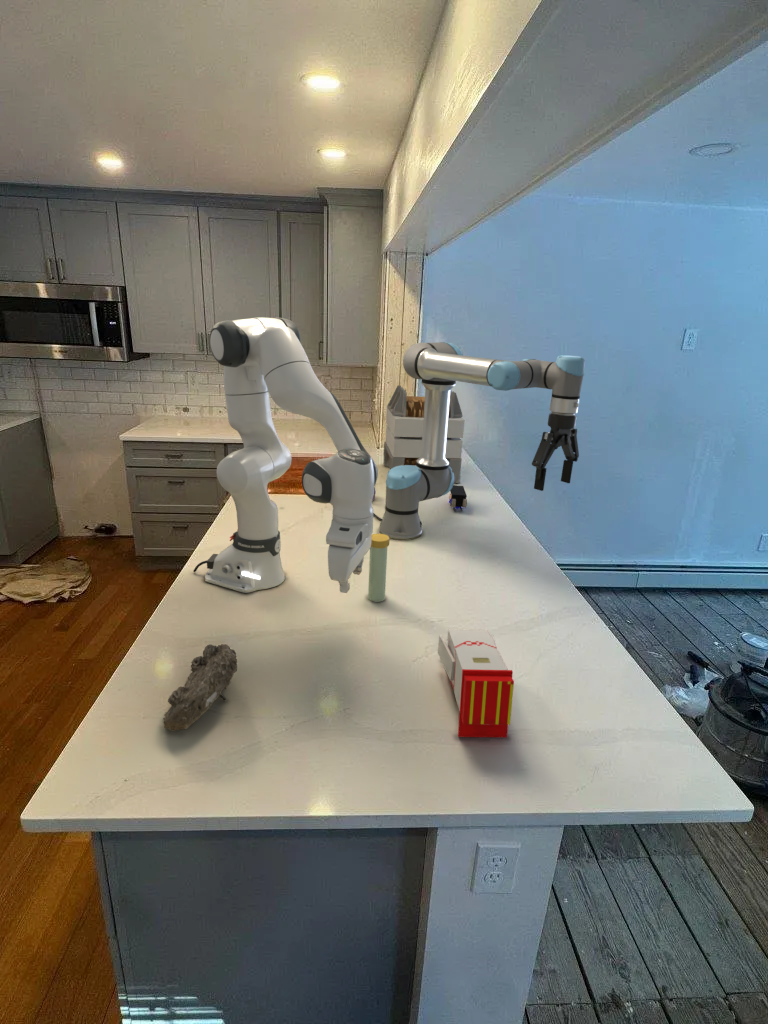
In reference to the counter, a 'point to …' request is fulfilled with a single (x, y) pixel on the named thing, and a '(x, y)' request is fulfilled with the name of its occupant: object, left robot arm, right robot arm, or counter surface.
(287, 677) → the counter surface
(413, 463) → the white slatted crate
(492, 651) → the toy
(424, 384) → the right robot arm
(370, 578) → the jar
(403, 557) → the counter surface
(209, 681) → the fossil
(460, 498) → the figurine character
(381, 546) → the lid
